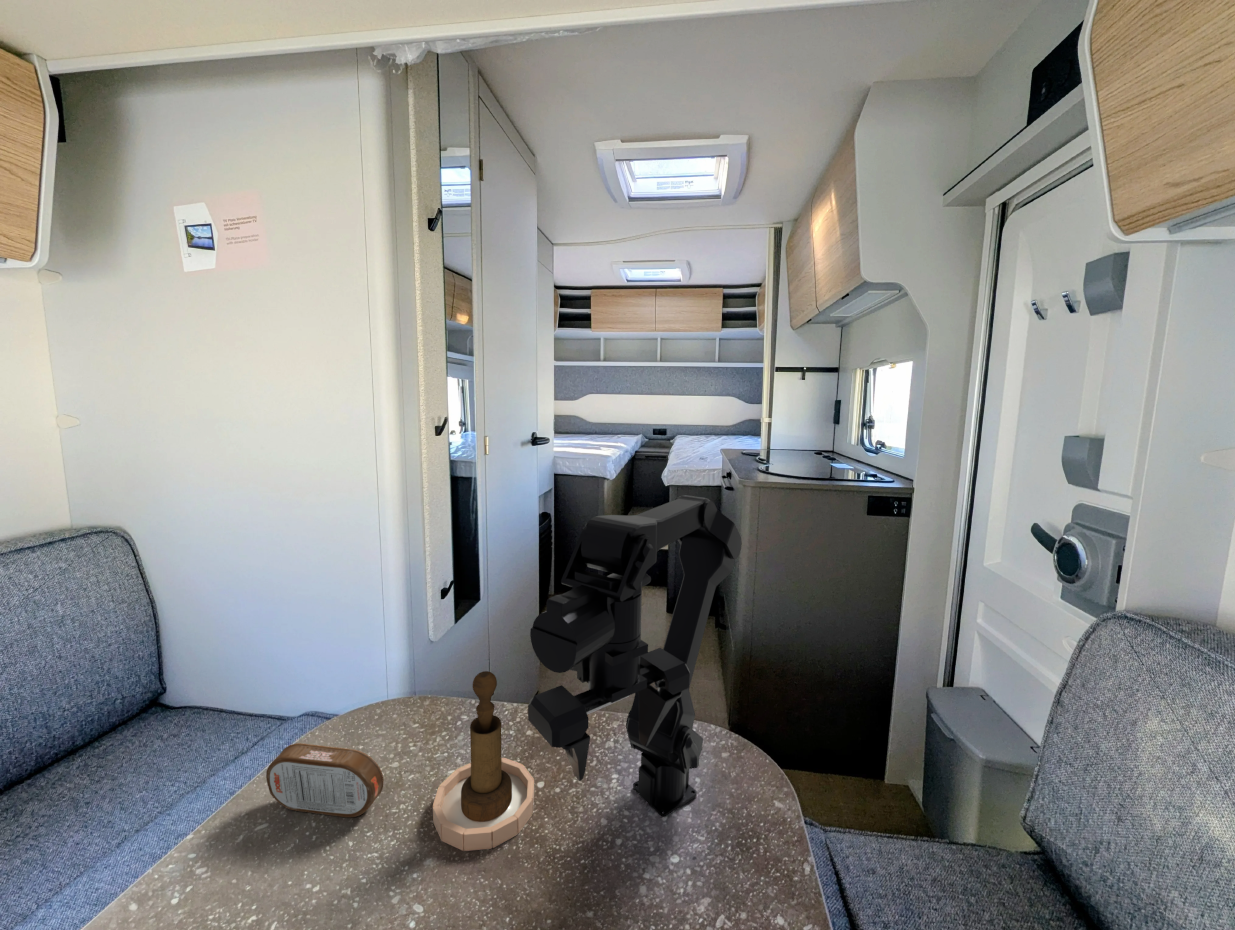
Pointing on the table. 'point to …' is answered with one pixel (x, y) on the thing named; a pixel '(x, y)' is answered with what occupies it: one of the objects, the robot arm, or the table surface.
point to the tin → (324, 780)
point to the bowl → (489, 833)
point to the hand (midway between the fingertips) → (612, 760)
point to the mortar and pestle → (485, 759)
